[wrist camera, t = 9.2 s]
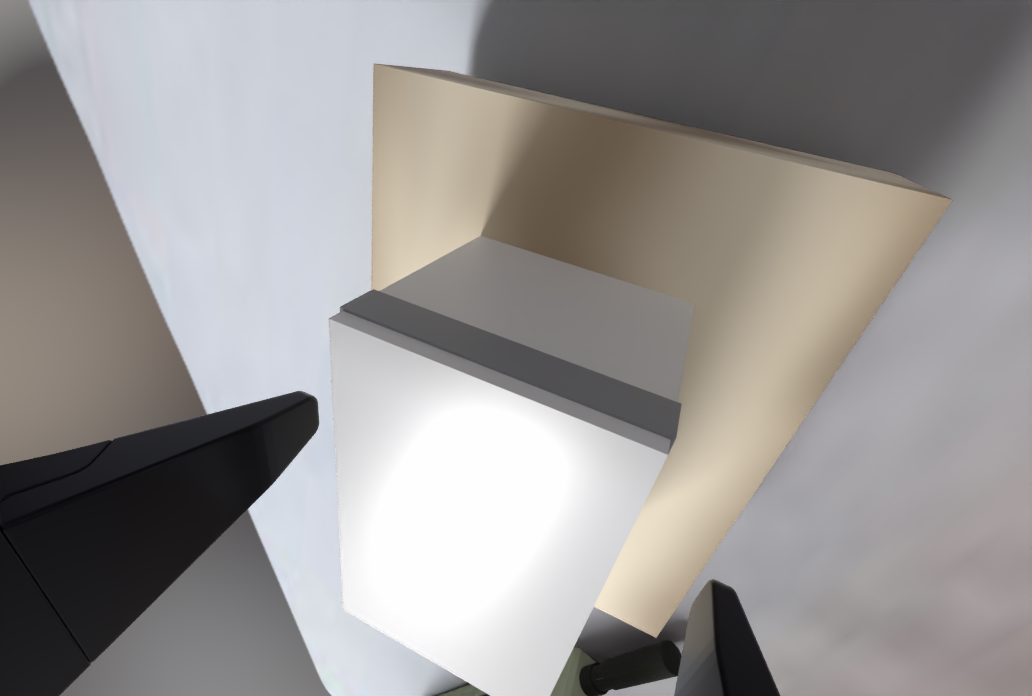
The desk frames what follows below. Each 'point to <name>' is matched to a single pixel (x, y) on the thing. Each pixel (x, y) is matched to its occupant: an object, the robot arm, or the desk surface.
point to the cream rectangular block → (658, 269)
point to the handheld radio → (607, 671)
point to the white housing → (497, 452)
